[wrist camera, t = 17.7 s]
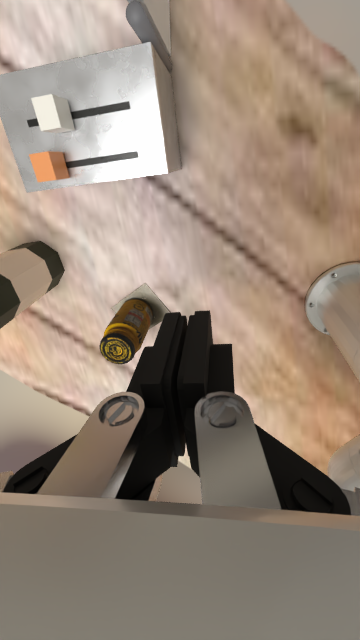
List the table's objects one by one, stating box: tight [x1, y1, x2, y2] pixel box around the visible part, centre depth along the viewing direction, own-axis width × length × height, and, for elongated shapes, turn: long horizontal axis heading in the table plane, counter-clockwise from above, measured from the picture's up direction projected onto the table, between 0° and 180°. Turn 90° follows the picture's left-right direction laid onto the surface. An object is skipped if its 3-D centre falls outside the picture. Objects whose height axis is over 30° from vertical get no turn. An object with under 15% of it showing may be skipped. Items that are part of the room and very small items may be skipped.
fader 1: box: [31, 94, 75, 133], centre depth 26 cm, size 2×2×3 cm
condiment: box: [100, 283, 170, 364], centre depth 46 cm, size 7×8×12 cm
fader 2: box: [29, 151, 70, 182], centre depth 28 cm, size 2×2×3 cm
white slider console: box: [0, 42, 182, 192], centre depth 33 cm, size 16×10×12 cm, turn 97°
